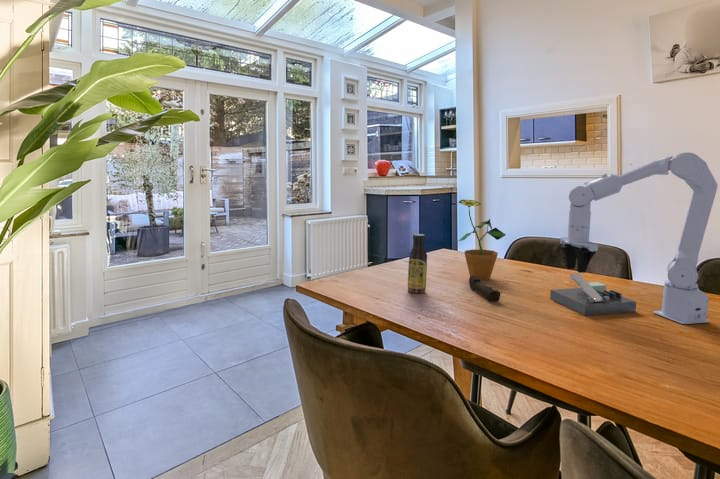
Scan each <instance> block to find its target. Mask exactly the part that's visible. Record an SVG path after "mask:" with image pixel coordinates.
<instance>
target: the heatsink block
mask: <svg viewBox="0 0 720 479" xmlns="http://www.w3.org/2000/svg"><path fill="white" fill-rule="evenodd" d="M597 293H598V294H599V295H600V296H601V297H602V298H603V299H604V302H594V298H592V297H589V296H588V295H587V294H586V293H585V292H584V291H583V290H582V289H581V287H577V288H561V289H559V288H558V289H550V295H549V296H550V297H549V299H550V300H552V301H553V302H555V303H557V304H559V305H561V306H564V307H565V308H568V309H569V310H572V311H574V312H575V313H578V314H580V315H582V316H596V315H597V316H598V315H610V314H611V315H612V314H625V313H636V309H637V301H635V300H633V299H630V298H628V297H626V296H623V293H621V292H620V291H616V290H613V289H609V291H608V290H607V289H606V290H604V292H602V291H598V292H597Z"/></svg>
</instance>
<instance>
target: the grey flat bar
mask: <svg viewBox="0 0 720 479" xmlns="http://www.w3.org/2000/svg"><path fill="white" fill-rule="evenodd" d="M569 276H570V277H571V279H572V280H573V281H574V282H575V283H576V285H577V284H578V285H579V286H580V287H579V286H578V287H579V288H581V289H582V290H583V291H584V292H585V293H586V294H587V295H588V296H589V297H592V298H594V302H604V299H603V298H602V297H601V296H600V295H599V294H598V293H597V292H596V291H595V290H594V289H593V288H592V286H591V285H590V284H589V282H588V281H587V280H586V279H585V277H583V275H581V273H579V272H577V273H576V272H575V273H574V272H573V273H569Z"/></svg>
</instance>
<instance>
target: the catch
mask: <svg viewBox="0 0 720 479" xmlns="http://www.w3.org/2000/svg"><path fill="white" fill-rule="evenodd" d="M588 283H589V284H590V285H591V286H592V288H593V289H594V290H595V291H596V292H598V291H602V292H604V290H606V291H607V284H604V283H601V282H599V281H591V282H588ZM576 285H577V287H578V288H581V287H580V286H579V285H578V284H577V283H576Z"/></svg>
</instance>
